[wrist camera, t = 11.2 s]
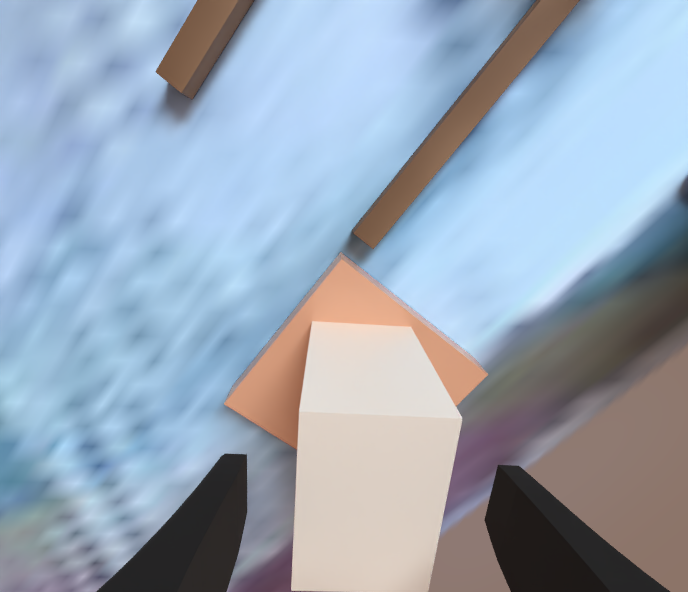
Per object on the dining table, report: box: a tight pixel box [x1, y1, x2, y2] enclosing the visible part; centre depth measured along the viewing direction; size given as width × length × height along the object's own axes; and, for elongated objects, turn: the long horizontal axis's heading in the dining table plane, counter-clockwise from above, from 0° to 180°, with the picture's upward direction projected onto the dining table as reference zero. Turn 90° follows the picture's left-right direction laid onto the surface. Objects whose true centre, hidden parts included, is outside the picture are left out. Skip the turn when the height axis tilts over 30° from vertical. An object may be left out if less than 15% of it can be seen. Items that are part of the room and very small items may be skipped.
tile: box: [224, 252, 488, 449], centre depth 16 cm, size 8×8×2 cm
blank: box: [291, 321, 462, 592], centre depth 12 cm, size 4×6×6 cm, turn 176°
